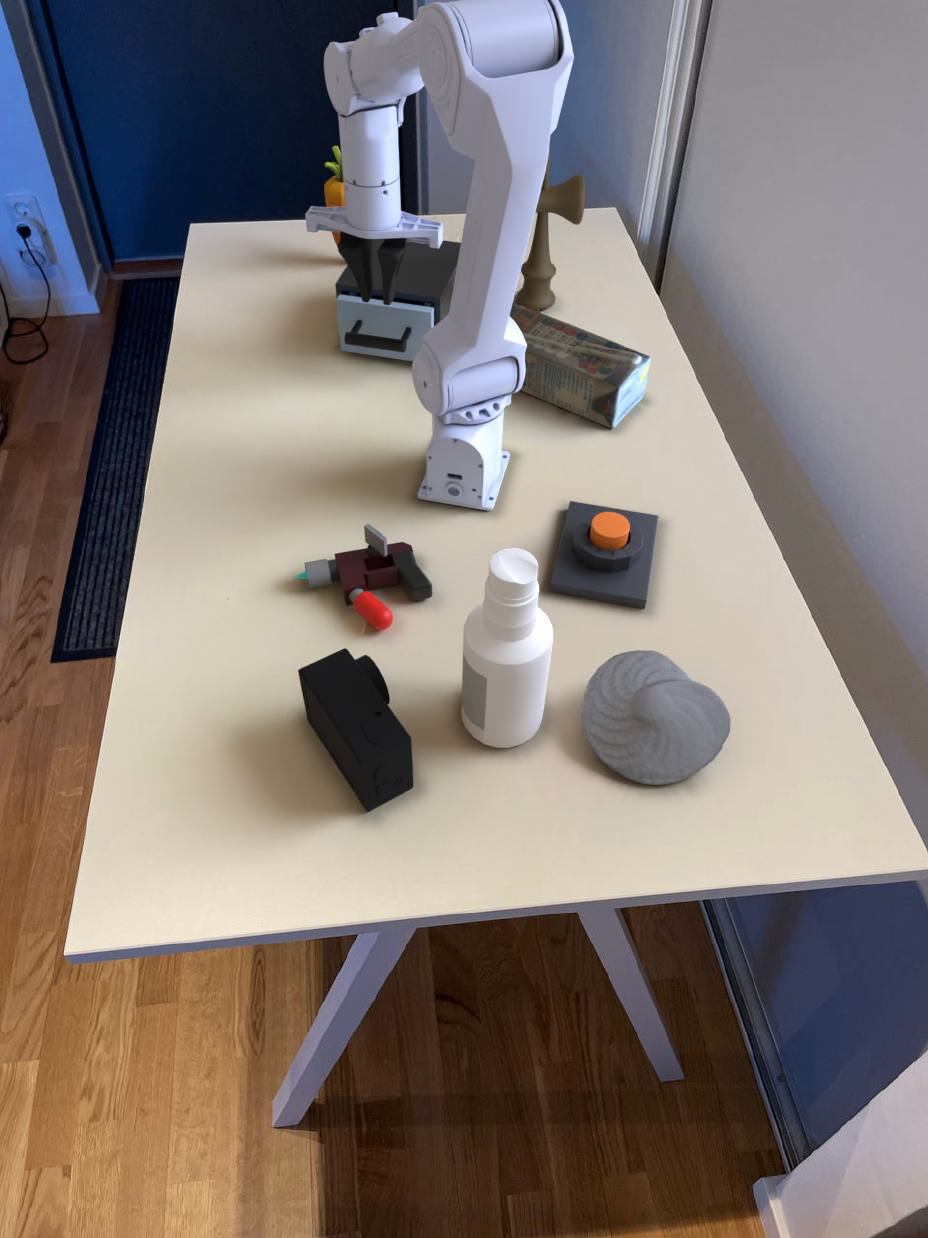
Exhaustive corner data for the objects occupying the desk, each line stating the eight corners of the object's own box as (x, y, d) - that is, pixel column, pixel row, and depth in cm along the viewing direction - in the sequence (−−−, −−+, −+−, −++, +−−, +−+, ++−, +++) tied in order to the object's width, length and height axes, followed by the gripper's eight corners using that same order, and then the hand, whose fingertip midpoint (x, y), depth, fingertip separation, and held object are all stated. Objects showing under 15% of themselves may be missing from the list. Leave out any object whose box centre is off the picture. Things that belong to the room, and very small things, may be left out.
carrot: (365, 271, 126) (357, 158, 114) (329, 270, 126) (317, 157, 114) (368, 254, 129) (361, 141, 118) (333, 253, 129) (322, 140, 118)
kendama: (498, 291, 123) (505, 133, 108) (569, 291, 123) (587, 133, 108) (500, 315, 119) (508, 154, 104) (574, 315, 119) (592, 155, 104)
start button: (624, 553, 87) (627, 540, 85) (587, 547, 87) (589, 533, 86) (629, 528, 89) (632, 514, 88) (592, 522, 89) (594, 508, 88)
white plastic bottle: (500, 670, 80) (511, 517, 67) (558, 716, 77) (583, 565, 64) (444, 714, 77) (444, 563, 64) (502, 764, 74) (515, 616, 60)
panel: (644, 609, 85) (650, 587, 83) (549, 592, 87) (552, 570, 84) (656, 524, 93) (661, 501, 91) (568, 509, 94) (571, 486, 92)
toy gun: (293, 574, 88) (287, 537, 84) (416, 552, 90) (415, 515, 86) (310, 650, 82) (303, 613, 78) (441, 624, 84) (440, 588, 80)
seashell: (618, 661, 81) (550, 720, 75) (642, 621, 77) (572, 679, 71) (724, 749, 78) (662, 818, 72) (755, 711, 73) (691, 781, 67)
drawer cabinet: (440, 363, 111) (440, 298, 105) (341, 349, 113) (334, 283, 107) (465, 306, 120) (467, 242, 114) (373, 293, 122) (369, 230, 115)
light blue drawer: (422, 384, 107) (421, 332, 102) (329, 370, 109) (323, 318, 103) (456, 310, 118) (456, 260, 113) (371, 298, 119) (367, 248, 114)
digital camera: (428, 781, 73) (427, 731, 68) (367, 814, 71) (362, 765, 66) (364, 692, 79) (359, 640, 73) (307, 720, 77) (297, 668, 71)
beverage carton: (612, 433, 103) (620, 383, 98) (471, 375, 110) (472, 325, 105) (645, 399, 107) (655, 349, 102) (508, 345, 114) (510, 296, 109)
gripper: (450, 166, 94) (449, 289, 105) (316, 151, 96) (328, 273, 107) (433, 196, 90) (434, 321, 100) (292, 179, 92) (307, 304, 102)
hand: (378, 299), depth 103 cm, fingers closed
